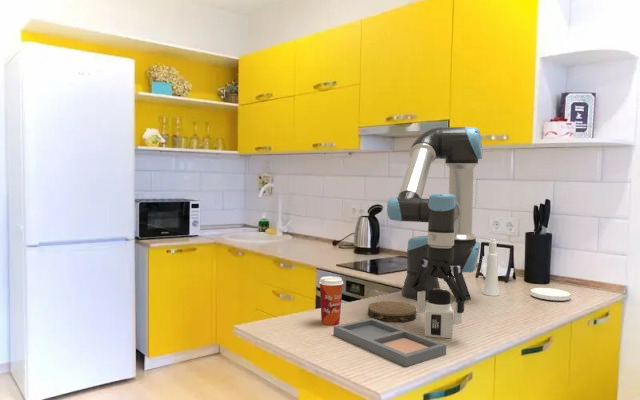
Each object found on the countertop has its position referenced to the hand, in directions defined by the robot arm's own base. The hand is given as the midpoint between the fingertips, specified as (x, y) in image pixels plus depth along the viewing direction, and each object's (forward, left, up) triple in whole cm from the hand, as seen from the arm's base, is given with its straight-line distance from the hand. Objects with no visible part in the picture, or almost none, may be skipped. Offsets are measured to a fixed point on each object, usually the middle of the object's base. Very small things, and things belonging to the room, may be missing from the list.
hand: (438, 317), depth 143 cm
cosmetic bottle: (-20, +56, -5) cm, 60 cm away
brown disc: (-21, +2, -5) cm, 22 cm away
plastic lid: (-4, +71, -5) cm, 71 cm away
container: (0, 0, -5) cm, 5 cm away
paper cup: (-26, -20, -5) cm, 33 cm away
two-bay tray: (-2, -19, -5) cm, 20 cm away
